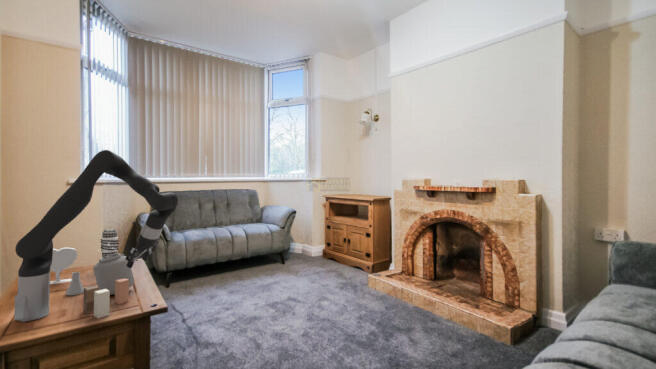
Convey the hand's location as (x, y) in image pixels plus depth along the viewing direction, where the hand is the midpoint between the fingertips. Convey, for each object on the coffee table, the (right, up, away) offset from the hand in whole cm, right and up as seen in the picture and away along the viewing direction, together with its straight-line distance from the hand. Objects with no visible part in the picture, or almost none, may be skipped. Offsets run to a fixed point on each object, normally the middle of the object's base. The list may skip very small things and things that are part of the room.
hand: (136, 263), depth 135 cm
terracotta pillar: (-10, -19, +5) cm, 22 cm away
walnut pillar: (-16, -19, -6) cm, 25 cm away
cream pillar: (-9, -19, -9) cm, 23 cm away
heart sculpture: (-61, -18, +29) cm, 70 cm away
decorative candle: (-50, -18, +53) cm, 75 cm away
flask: (-39, -18, +14) cm, 45 cm away
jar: (-22, -19, +16) cm, 33 cm away
